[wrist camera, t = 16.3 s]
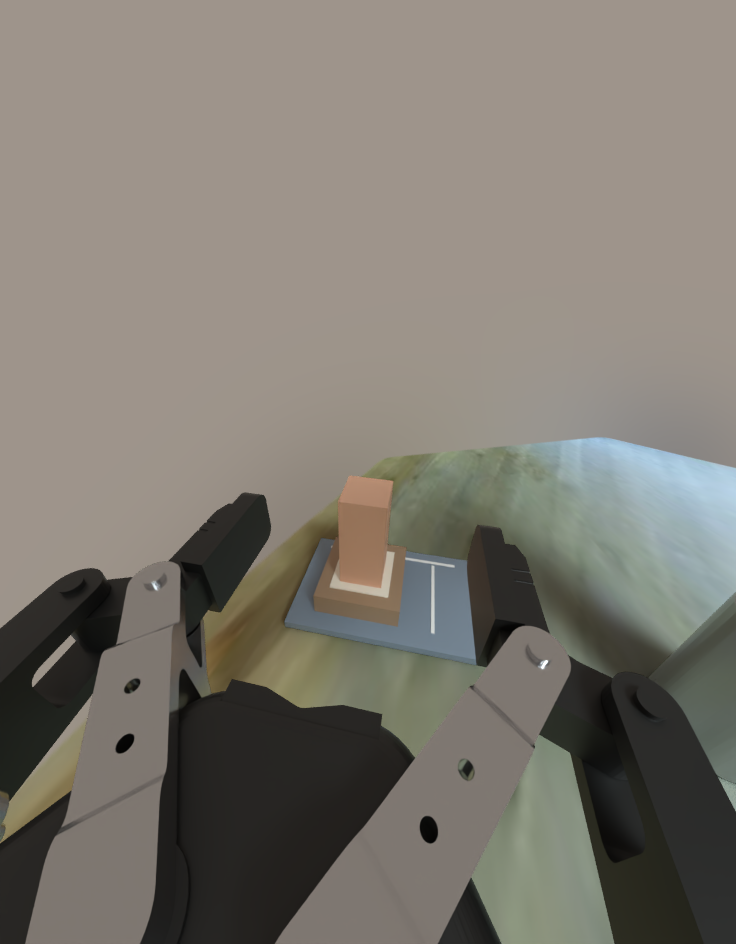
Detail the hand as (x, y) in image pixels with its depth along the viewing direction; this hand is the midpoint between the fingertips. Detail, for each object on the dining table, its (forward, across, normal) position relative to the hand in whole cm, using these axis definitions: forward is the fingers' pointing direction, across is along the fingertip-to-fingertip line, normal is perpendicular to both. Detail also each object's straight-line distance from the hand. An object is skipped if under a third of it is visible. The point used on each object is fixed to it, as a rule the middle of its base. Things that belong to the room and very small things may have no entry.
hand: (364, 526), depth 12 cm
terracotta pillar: (+17, +3, +23) cm, 29 cm away
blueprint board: (+17, 0, +27) cm, 32 cm away
